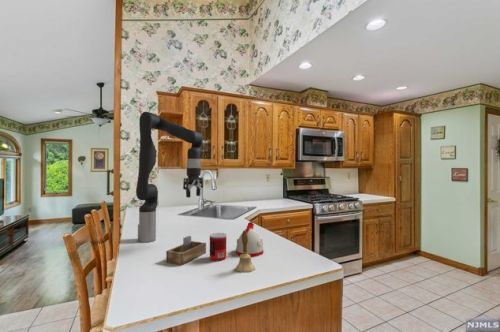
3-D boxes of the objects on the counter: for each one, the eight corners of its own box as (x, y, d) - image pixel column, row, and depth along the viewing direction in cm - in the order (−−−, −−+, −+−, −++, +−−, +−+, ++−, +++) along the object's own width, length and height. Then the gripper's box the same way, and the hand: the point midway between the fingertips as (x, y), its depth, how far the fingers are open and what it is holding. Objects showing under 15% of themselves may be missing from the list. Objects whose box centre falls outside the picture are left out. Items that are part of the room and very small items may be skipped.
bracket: (180, 256, 119) (180, 237, 119) (185, 254, 123) (185, 235, 123) (188, 258, 117) (188, 238, 117) (194, 255, 121) (194, 236, 121)
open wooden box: (166, 262, 114) (166, 251, 114) (191, 250, 130) (191, 240, 130) (182, 265, 110) (182, 253, 110) (205, 253, 126) (205, 242, 126)
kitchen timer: (267, 250, 131) (267, 221, 131) (256, 258, 118) (256, 226, 119) (243, 246, 137) (243, 219, 137) (230, 254, 124) (230, 224, 124)
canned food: (229, 256, 121) (228, 233, 121) (221, 262, 114) (221, 237, 114) (214, 254, 124) (214, 232, 124) (206, 260, 116) (206, 236, 116)
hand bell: (248, 274, 101) (248, 233, 101) (231, 269, 105) (231, 231, 105) (258, 267, 108) (258, 229, 108) (242, 263, 112) (242, 227, 112)
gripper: (196, 167, 148) (195, 195, 147) (179, 167, 135) (179, 197, 135) (206, 167, 144) (206, 195, 144) (190, 167, 131) (190, 198, 131)
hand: (193, 196), depth 139 cm, fingers open, 8 cm apart
